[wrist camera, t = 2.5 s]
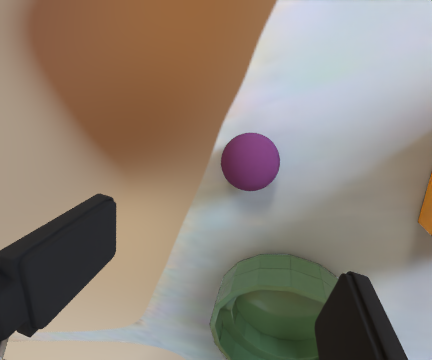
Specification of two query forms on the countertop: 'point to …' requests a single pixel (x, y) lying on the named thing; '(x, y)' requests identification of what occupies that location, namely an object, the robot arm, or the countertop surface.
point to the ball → (250, 161)
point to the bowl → (270, 308)
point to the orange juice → (427, 209)
